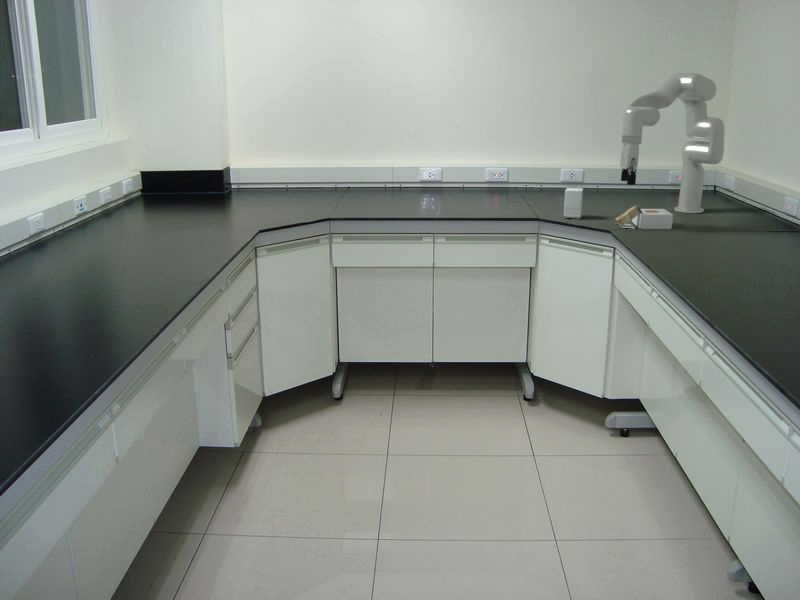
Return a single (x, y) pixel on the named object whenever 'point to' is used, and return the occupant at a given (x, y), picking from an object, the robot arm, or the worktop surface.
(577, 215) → the supplement box
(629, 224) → the pad
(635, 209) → the tan wooden block
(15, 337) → the worktop surface
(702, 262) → the worktop surface
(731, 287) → the worktop surface
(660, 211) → the box
